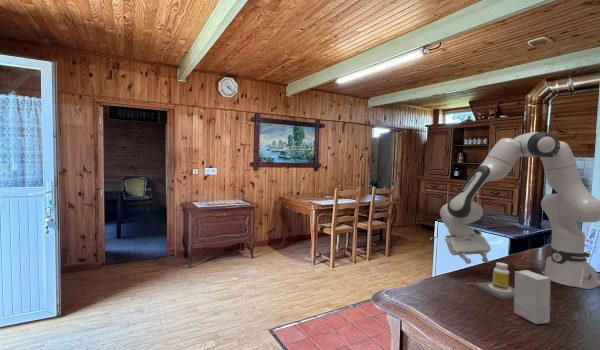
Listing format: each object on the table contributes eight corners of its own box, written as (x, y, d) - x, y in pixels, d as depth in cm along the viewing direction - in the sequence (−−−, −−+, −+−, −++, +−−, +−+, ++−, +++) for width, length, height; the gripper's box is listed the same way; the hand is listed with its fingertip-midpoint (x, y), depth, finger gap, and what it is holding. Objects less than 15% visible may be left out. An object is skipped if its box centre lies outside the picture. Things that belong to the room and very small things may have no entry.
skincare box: (549, 323, 98) (553, 278, 97) (535, 325, 97) (538, 279, 96) (525, 310, 106) (528, 269, 105) (511, 311, 105) (514, 269, 104)
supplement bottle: (510, 291, 119) (512, 266, 118) (495, 289, 120) (497, 265, 119) (504, 285, 124) (506, 262, 124) (489, 284, 125) (491, 261, 125)
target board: (497, 283, 129) (498, 280, 129) (525, 296, 118) (525, 292, 118) (475, 286, 126) (475, 282, 126) (501, 299, 115) (501, 295, 115)
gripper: (447, 232, 136) (462, 260, 127) (483, 230, 142) (500, 258, 133) (439, 239, 141) (454, 267, 132) (474, 237, 146) (490, 264, 137)
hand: (477, 262), depth 132 cm, fingers open, 8 cm apart
